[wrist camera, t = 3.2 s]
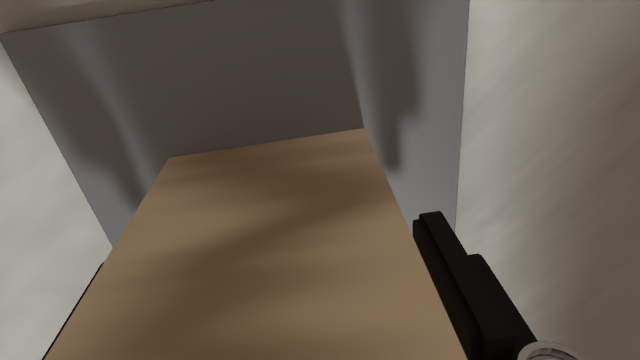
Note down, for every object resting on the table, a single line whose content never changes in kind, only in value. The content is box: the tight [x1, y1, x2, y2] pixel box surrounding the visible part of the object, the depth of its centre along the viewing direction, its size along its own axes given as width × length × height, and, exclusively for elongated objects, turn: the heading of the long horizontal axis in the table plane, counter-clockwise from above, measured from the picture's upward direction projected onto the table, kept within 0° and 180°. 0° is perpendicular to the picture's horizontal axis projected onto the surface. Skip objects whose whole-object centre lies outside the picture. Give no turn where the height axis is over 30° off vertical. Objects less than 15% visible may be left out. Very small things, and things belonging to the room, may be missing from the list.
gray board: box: [0, 0, 470, 247], centre depth 13 cm, size 12×14×1 cm
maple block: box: [44, 128, 467, 360], centre depth 9 cm, size 6×6×8 cm
